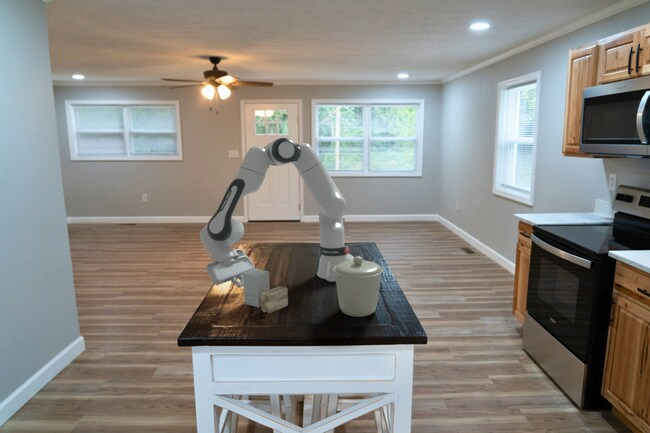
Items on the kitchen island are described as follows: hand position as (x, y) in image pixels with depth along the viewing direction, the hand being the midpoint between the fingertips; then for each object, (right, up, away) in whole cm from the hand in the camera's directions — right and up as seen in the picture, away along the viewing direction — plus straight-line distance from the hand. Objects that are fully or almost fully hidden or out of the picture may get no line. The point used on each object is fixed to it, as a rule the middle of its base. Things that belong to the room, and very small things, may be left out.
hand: (242, 286), depth 172 cm
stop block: (+14, -7, -10) cm, 19 cm away
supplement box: (+7, -6, -4) cm, 10 cm away
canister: (+46, -7, -14) cm, 48 cm away
